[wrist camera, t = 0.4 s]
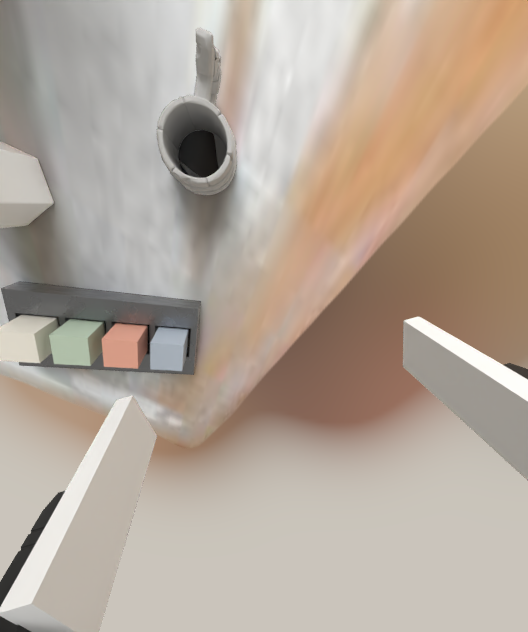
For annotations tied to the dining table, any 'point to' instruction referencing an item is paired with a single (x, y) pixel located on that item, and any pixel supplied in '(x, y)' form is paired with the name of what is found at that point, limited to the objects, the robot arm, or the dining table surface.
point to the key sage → (77, 342)
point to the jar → (21, 188)
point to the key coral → (125, 345)
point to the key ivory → (27, 338)
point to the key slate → (168, 349)
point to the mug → (199, 123)
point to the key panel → (105, 315)
